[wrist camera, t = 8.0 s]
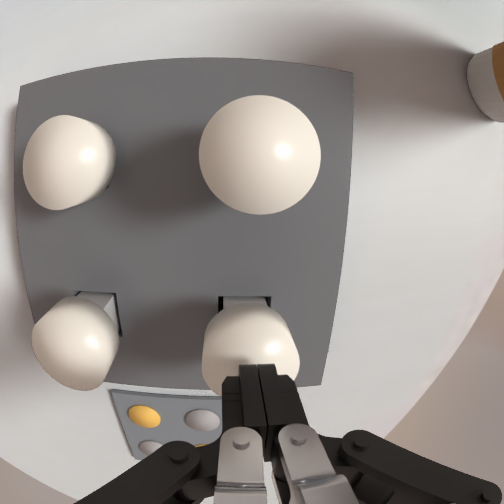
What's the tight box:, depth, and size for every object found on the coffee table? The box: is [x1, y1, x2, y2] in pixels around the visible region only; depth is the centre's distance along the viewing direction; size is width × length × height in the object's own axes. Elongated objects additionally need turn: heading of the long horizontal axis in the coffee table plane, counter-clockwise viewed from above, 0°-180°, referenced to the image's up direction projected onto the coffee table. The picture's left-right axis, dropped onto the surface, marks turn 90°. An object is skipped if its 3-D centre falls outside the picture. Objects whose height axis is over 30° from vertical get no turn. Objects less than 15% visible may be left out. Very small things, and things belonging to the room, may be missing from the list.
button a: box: [23, 115, 116, 210], centre depth 14 cm, size 4×4×5 cm
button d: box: [202, 296, 300, 397], centre depth 15 cm, size 4×4×5 cm
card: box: [111, 389, 222, 460], centre depth 22 cm, size 10×10×1 cm
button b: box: [31, 291, 121, 391], centre depth 14 cm, size 4×4×5 cm
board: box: [14, 58, 353, 390], centre depth 17 cm, size 20×20×2 cm
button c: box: [199, 95, 321, 215], centre depth 13 cm, size 4×4×5 cm
